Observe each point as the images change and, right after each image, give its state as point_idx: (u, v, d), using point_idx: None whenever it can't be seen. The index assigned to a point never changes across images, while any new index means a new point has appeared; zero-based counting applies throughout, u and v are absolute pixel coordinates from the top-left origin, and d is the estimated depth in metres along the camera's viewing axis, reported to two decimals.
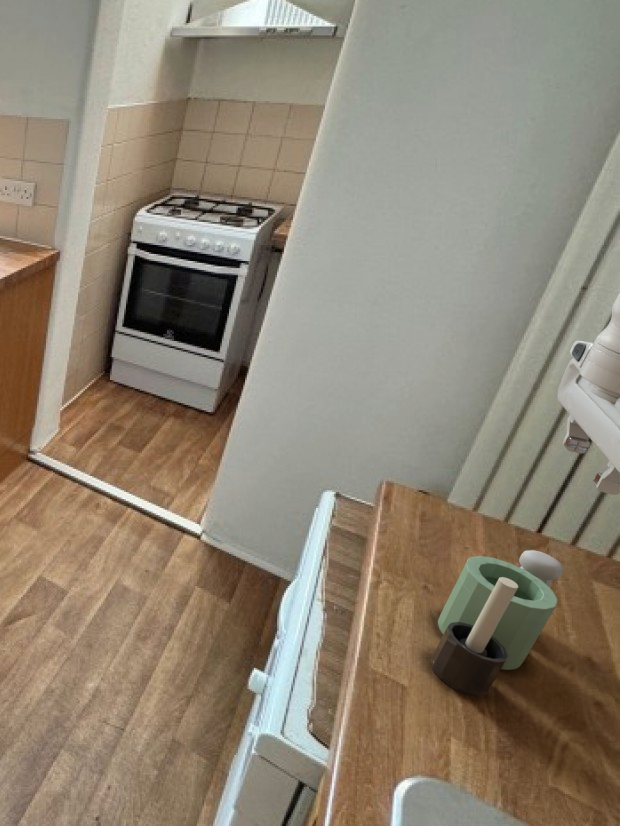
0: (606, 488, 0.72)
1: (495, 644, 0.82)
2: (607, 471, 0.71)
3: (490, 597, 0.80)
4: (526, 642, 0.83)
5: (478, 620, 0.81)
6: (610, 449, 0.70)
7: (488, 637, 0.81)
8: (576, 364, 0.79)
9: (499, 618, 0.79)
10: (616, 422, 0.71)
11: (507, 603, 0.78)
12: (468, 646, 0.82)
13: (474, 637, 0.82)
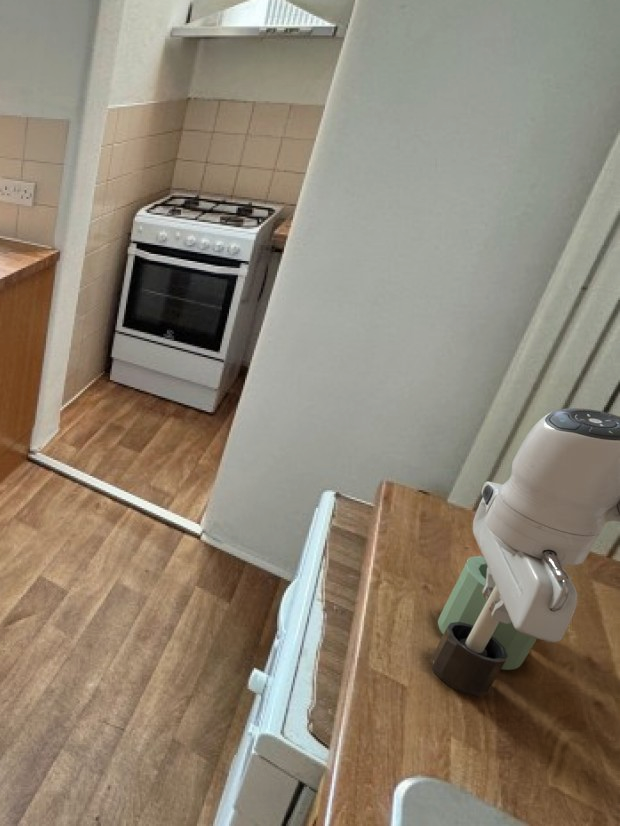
0: (499, 617, 0.78)
1: (495, 644, 0.82)
2: (499, 602, 0.77)
3: (490, 597, 0.80)
4: (526, 642, 0.83)
5: (478, 620, 0.81)
6: (508, 601, 0.74)
7: (488, 637, 0.81)
8: (486, 505, 0.82)
9: None
10: (515, 574, 0.74)
11: None
12: (468, 646, 0.82)
13: (474, 637, 0.82)
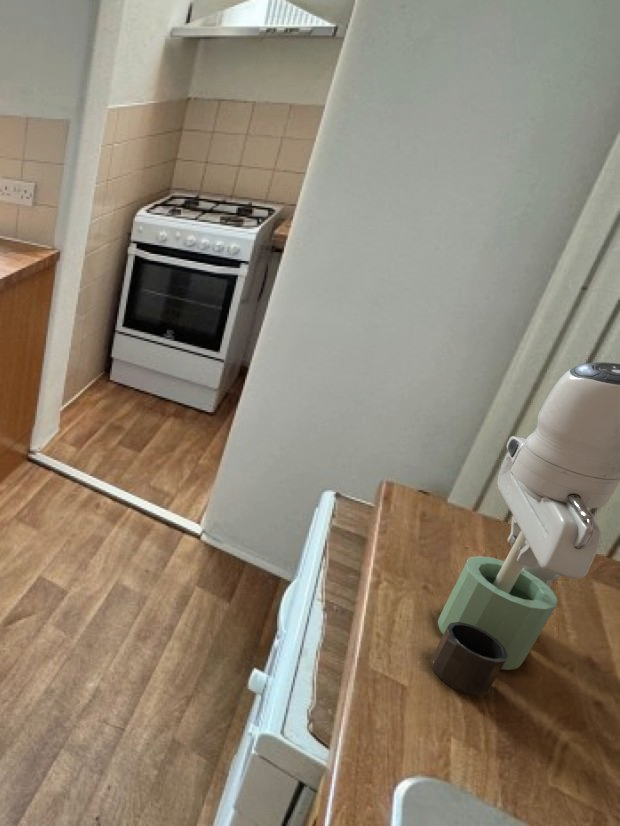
0: (525, 561, 0.83)
1: (495, 644, 0.82)
2: (525, 547, 0.82)
3: (515, 543, 0.84)
4: (526, 642, 0.83)
5: (503, 566, 0.86)
6: (534, 544, 0.79)
7: (513, 582, 0.85)
8: (511, 458, 0.87)
9: None
10: (540, 519, 0.79)
11: None
12: None
13: (499, 582, 0.86)
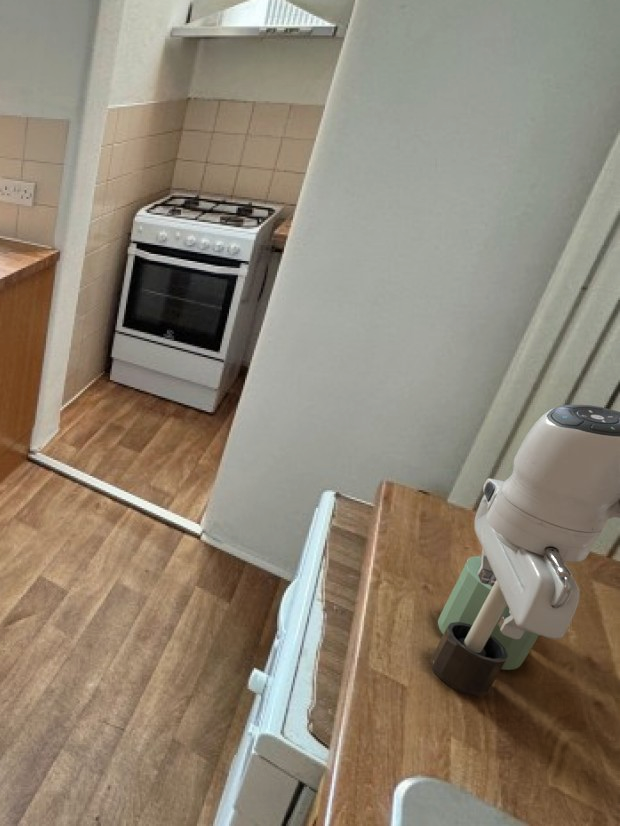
0: (509, 632, 0.75)
1: (495, 644, 0.82)
2: (509, 617, 0.74)
3: (488, 597, 0.80)
4: (526, 642, 0.83)
5: (476, 620, 0.81)
6: (510, 598, 0.73)
7: (486, 637, 0.81)
8: (488, 502, 0.82)
9: (497, 618, 0.79)
10: (517, 571, 0.74)
11: (505, 603, 0.78)
12: (466, 646, 0.82)
13: (473, 636, 0.82)
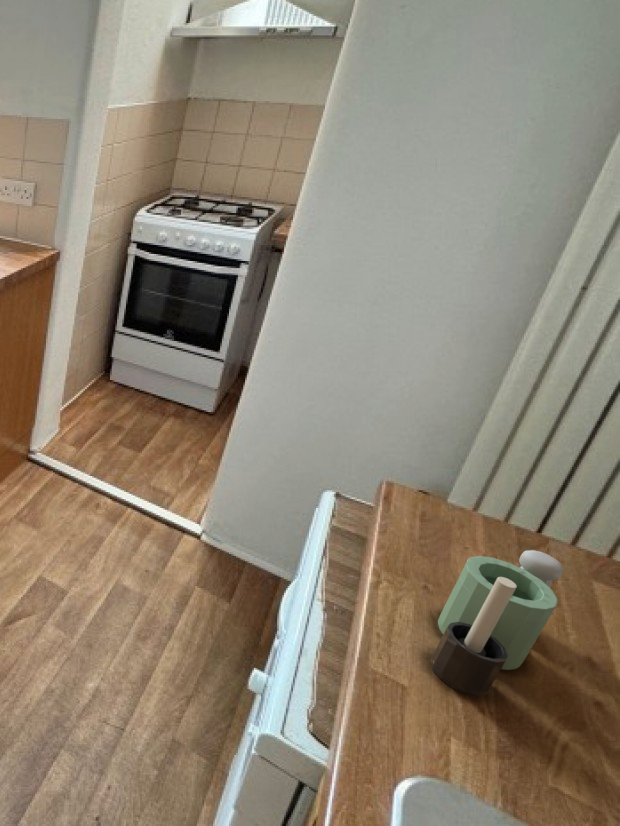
0: None
1: (495, 644, 0.82)
2: None
3: (488, 597, 0.80)
4: (526, 642, 0.83)
5: (476, 620, 0.81)
6: None
7: (486, 637, 0.81)
8: None
9: (497, 618, 0.79)
10: None
11: (505, 603, 0.78)
12: (466, 646, 0.82)
13: (473, 636, 0.82)
